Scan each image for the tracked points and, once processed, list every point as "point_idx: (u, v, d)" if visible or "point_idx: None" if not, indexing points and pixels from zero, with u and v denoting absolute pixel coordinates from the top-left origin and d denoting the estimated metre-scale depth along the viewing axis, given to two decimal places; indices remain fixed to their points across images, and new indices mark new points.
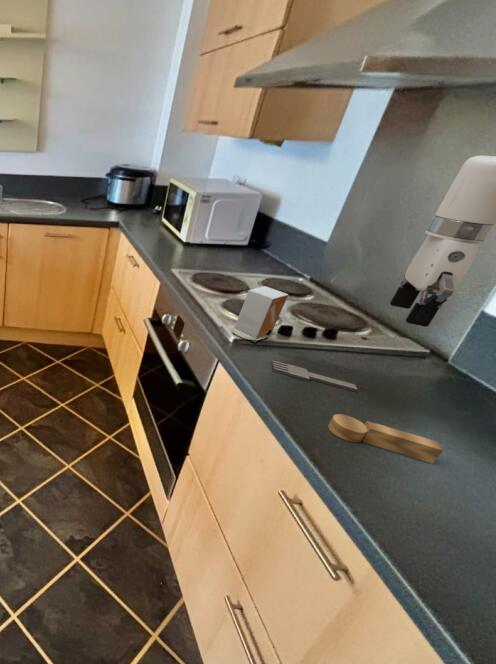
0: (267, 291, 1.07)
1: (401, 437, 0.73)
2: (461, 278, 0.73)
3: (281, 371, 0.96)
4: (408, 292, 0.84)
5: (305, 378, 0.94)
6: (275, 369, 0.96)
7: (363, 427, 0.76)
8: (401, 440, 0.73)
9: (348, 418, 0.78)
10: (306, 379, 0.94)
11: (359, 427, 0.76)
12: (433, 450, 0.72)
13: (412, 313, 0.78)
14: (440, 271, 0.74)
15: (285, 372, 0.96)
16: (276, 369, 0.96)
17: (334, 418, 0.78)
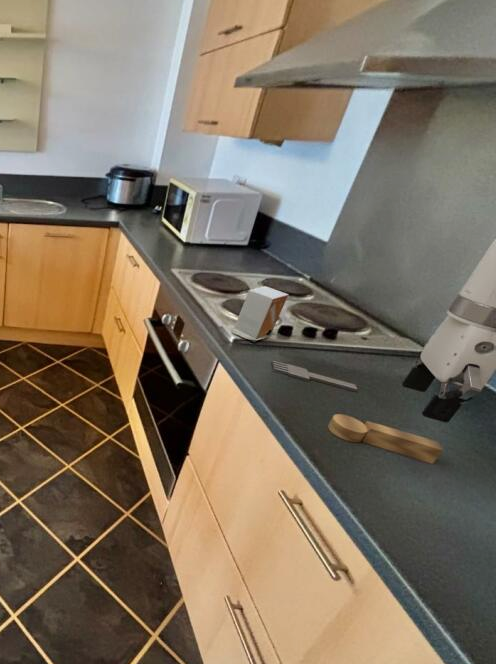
0: (267, 291, 1.07)
1: (401, 437, 0.73)
2: (490, 372, 0.62)
3: (281, 371, 0.96)
4: (424, 374, 0.73)
5: (305, 378, 0.94)
6: (275, 369, 0.96)
7: (363, 427, 0.76)
8: (401, 440, 0.73)
9: (348, 418, 0.78)
10: (306, 379, 0.94)
11: (359, 427, 0.76)
12: (433, 450, 0.72)
13: (430, 406, 0.66)
14: (465, 363, 0.62)
15: (285, 372, 0.96)
16: (276, 369, 0.96)
17: (334, 418, 0.78)
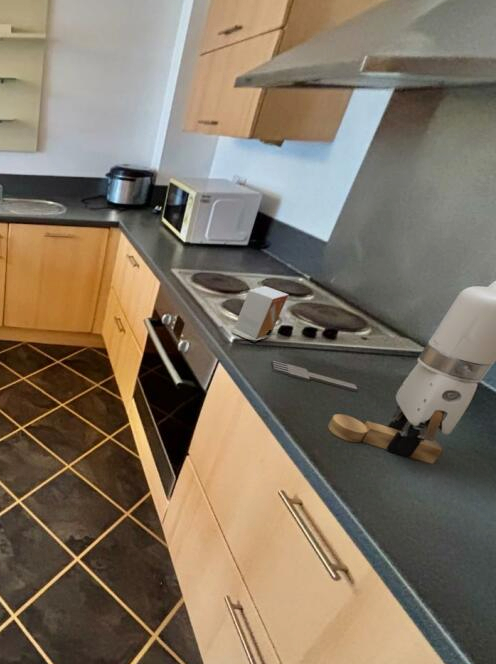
0: (267, 291, 1.07)
1: None
2: (457, 419, 0.65)
3: (281, 371, 0.96)
4: (401, 429, 0.75)
5: (305, 378, 0.94)
6: (275, 369, 0.96)
7: (363, 427, 0.76)
8: None
9: (348, 418, 0.78)
10: (306, 379, 0.94)
11: (359, 427, 0.76)
12: (433, 450, 0.72)
13: (393, 442, 0.73)
14: (434, 409, 0.66)
15: (285, 372, 0.96)
16: (276, 369, 0.96)
17: (334, 418, 0.78)
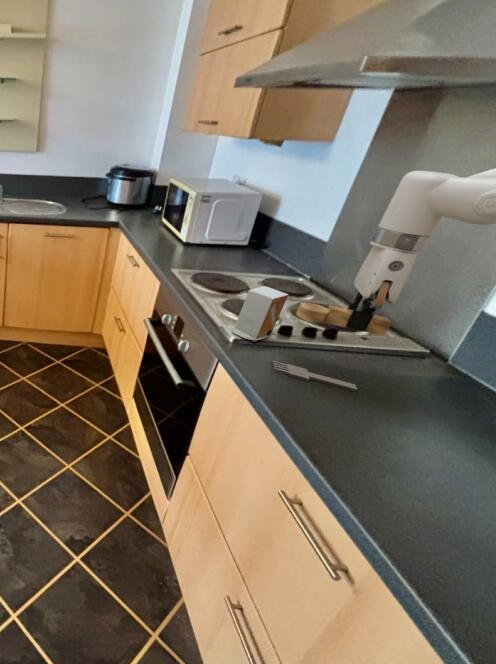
0: (267, 291, 1.07)
1: None
2: (401, 286, 0.77)
3: (281, 371, 0.96)
4: None
5: (305, 378, 0.94)
6: (275, 369, 0.96)
7: (325, 310, 0.88)
8: None
9: (313, 305, 0.90)
10: (306, 379, 0.94)
11: (322, 309, 0.88)
12: (383, 323, 0.83)
13: (351, 319, 0.85)
14: (382, 279, 0.78)
15: (285, 372, 0.96)
16: (276, 369, 0.96)
17: (301, 304, 0.90)
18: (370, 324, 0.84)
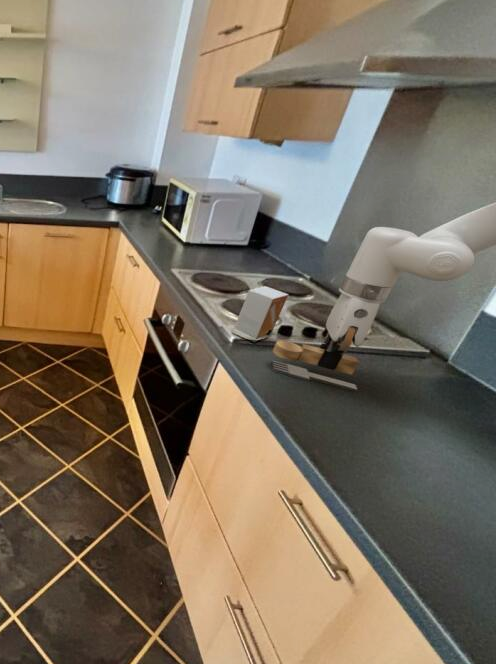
0: (267, 291, 1.07)
1: None
2: (365, 332, 0.83)
3: (281, 371, 0.96)
4: None
5: (305, 378, 0.94)
6: (275, 369, 0.96)
7: (299, 349, 0.94)
8: None
9: (288, 343, 0.96)
10: (306, 379, 0.94)
11: (296, 348, 0.94)
12: (351, 363, 0.89)
13: (322, 358, 0.91)
14: (348, 325, 0.84)
15: (285, 372, 0.96)
16: (276, 369, 0.96)
17: (277, 343, 0.96)
18: (339, 363, 0.91)
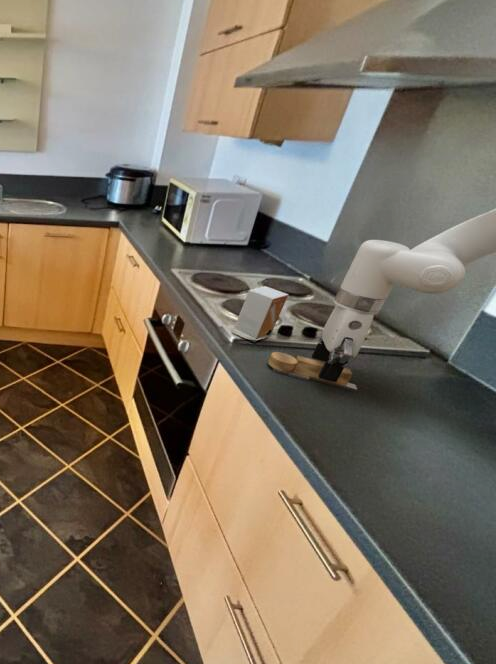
0: (267, 291, 1.07)
1: (322, 366, 0.93)
2: (360, 343, 0.84)
3: (281, 371, 0.96)
4: (325, 348, 0.96)
5: (305, 378, 0.94)
6: (275, 369, 0.96)
7: (294, 360, 0.95)
8: (321, 368, 0.93)
9: (283, 354, 0.98)
10: (306, 379, 0.94)
11: (291, 360, 0.96)
12: (345, 375, 0.91)
13: (323, 370, 0.89)
14: (343, 336, 0.85)
15: (285, 372, 0.96)
16: (276, 369, 0.96)
17: (272, 354, 0.97)
18: None
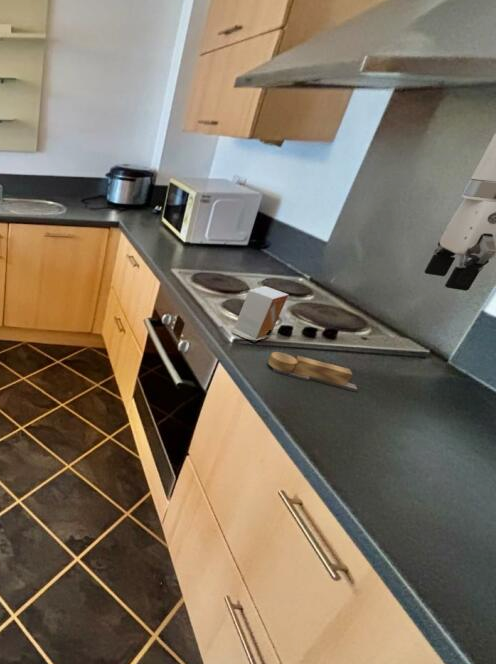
0: (267, 291, 1.07)
1: (322, 366, 0.93)
2: None
3: (281, 371, 0.96)
4: (443, 259, 0.84)
5: (305, 378, 0.94)
6: (275, 369, 0.96)
7: (294, 360, 0.95)
8: (321, 368, 0.93)
9: (283, 354, 0.98)
10: (306, 379, 0.94)
11: (291, 360, 0.96)
12: (345, 375, 0.91)
13: (452, 277, 0.78)
14: (480, 233, 0.74)
15: (285, 372, 0.96)
16: (276, 369, 0.96)
17: (272, 354, 0.97)
18: (333, 375, 0.92)
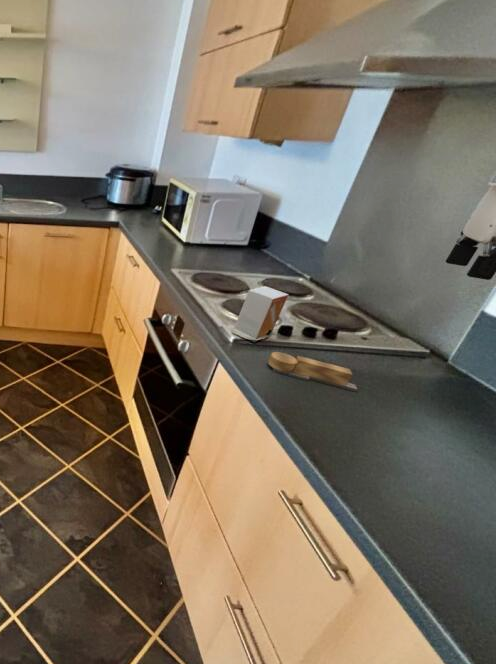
0: (267, 291, 1.07)
1: (322, 366, 0.93)
2: None
3: (281, 371, 0.96)
4: (465, 249, 0.83)
5: (305, 378, 0.94)
6: (275, 369, 0.96)
7: (294, 360, 0.95)
8: (321, 368, 0.93)
9: (283, 354, 0.98)
10: (306, 379, 0.94)
11: (291, 360, 0.96)
12: (345, 375, 0.91)
13: (474, 266, 0.77)
14: None
15: (285, 372, 0.96)
16: (276, 369, 0.96)
17: (272, 354, 0.97)
18: (333, 375, 0.92)
